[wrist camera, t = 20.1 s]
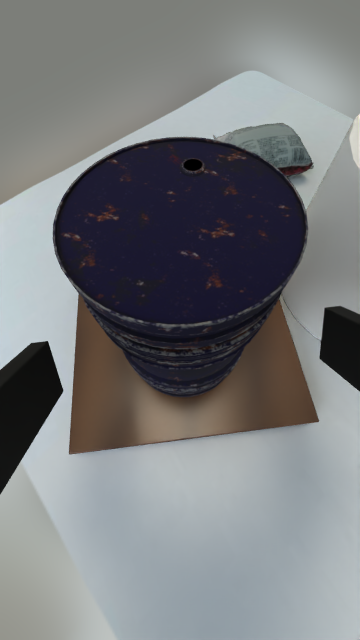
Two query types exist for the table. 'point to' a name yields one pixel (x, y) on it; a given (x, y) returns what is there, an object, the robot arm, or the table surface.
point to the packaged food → (273, 146)
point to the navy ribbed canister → (181, 254)
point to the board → (183, 412)
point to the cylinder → (331, 242)
